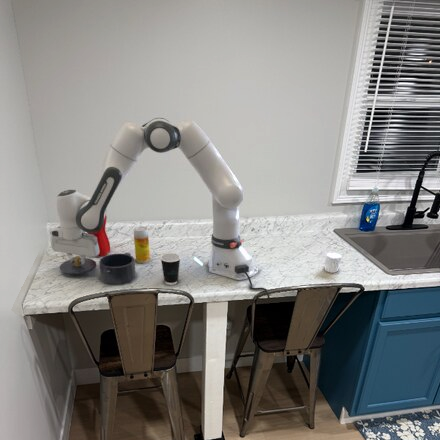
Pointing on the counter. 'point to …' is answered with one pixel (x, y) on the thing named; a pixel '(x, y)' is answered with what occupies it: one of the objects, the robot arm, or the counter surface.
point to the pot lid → (77, 266)
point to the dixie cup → (170, 267)
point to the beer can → (141, 244)
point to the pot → (117, 269)
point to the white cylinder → (332, 262)
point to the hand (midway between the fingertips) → (77, 263)
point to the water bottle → (102, 240)
